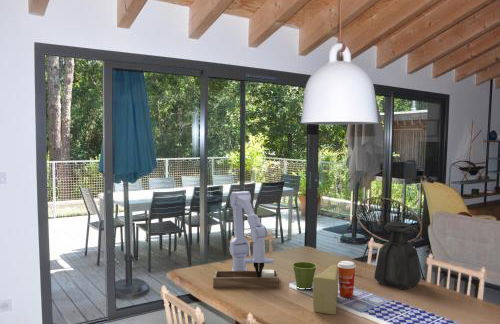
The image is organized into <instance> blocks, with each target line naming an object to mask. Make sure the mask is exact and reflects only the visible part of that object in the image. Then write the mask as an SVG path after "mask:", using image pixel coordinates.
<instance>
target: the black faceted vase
mask: <svg viewBox="0 0 500 324" xmlns="http://www.w3.org/2000/svg"><path fill="white" fill-rule="evenodd" d="M383 229H384V230H386V231H389V232H391V233H390V236H389V239H388V241H387V242H385V243H384V244H382V245H381V247H380V249H379V252H378V256H377V261H376V266H375V271H374V277H373V278H374V280H376V281H377V283H379V284H380V285H384V286H388V287H392V288H396V289H399V290H404V291H405V290H406V289H410V288H411V287H413V286H416V285H417V284H419V283H420V281H421V280H422V273H421V266H420V261H419V256H418V251H417V249H416V248H415V247H414V245H413V243H412V242H409V241H408V237H407V234H406V232H408V231H411V230H413V229H414V226H413V225H412V224H410V223H408V222H403V221H388V222H386V224H385V225H383Z"/></svg>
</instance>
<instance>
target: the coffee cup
mask: <svg viewBox="0 0 500 324" xmlns="http://www.w3.org/2000/svg"><path fill="white" fill-rule="evenodd" d="M336 265H337V267H338V293H339V296H340V295H341V296H340V297H342V296H343V297H342V298H346V297H350V298H352V296H353V297H354V290H355V289H354V288H355V285H354V284H355V273H356V271H355V270H356V268H357V265H356V264H355V262H353V261H350V260H340V261H339V262H338V263H337V264H336Z"/></svg>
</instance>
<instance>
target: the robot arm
mask: <svg viewBox="0 0 500 324" xmlns="http://www.w3.org/2000/svg"><path fill="white" fill-rule="evenodd" d="M229 202H230V203H229V204H230V207H232V218H233V233H234V234H233V235H234V238H232V239H231V240H230V242H229V254H230V255H231V256H232V268H231V271H248V267H247V264H253V267H254V271H256V273H257V277H258V278H260V276H261V272H262V270H264V267H265V264H271V265H274V261H275V260H274V258H266V257H265V256H266V254H265V252H266V251H265V249H266V248H265V247H266V246H265V240H266V239H265V238H266V237H267V235H268V230H267V228H266V226H265V225H263V224H262V223H261V220H260V218H259V216H258V215H257V213H255V212H254V209H253V206H252V203H251V202H252V195H251V192H250V191H249V190H245V191H232V192H231V194H230V196H229ZM243 210H244V212H245V214H246V215H247V218H246V221H247V223H248V226H249V227H250V229H251V230H250V236H251V241H252V258H247V256H248V254H249V253H250V244H249V241H248V239H247V238H245V235H244V217H243Z"/></svg>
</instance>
